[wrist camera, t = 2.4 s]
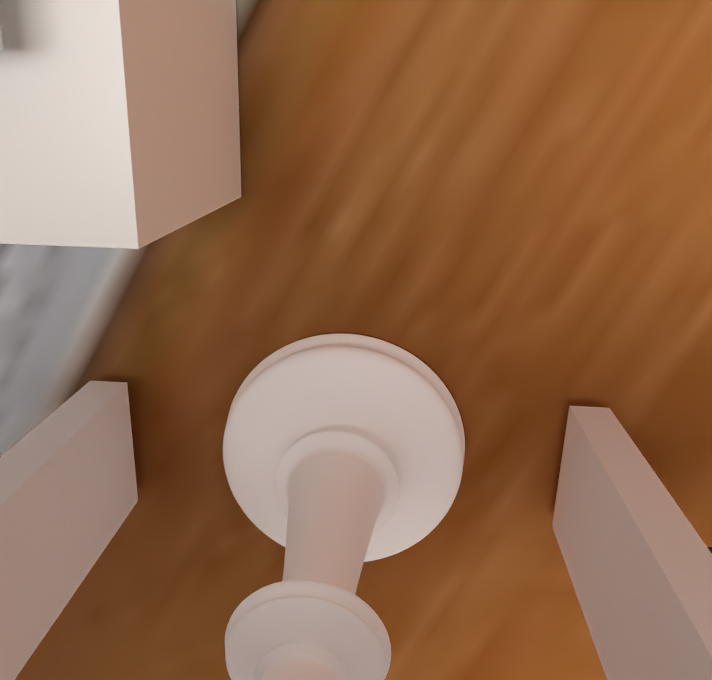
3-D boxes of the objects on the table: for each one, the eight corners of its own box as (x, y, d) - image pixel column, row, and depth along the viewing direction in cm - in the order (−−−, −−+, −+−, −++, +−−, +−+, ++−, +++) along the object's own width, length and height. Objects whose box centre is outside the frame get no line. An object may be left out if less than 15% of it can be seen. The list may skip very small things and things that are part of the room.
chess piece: (242, 310, 13) (-200, 843, 3) (490, 359, 13) (728, 1033, 3) (214, 522, 15) (-138, 1277, 5) (435, 566, 14) (493, 1408, 5)
